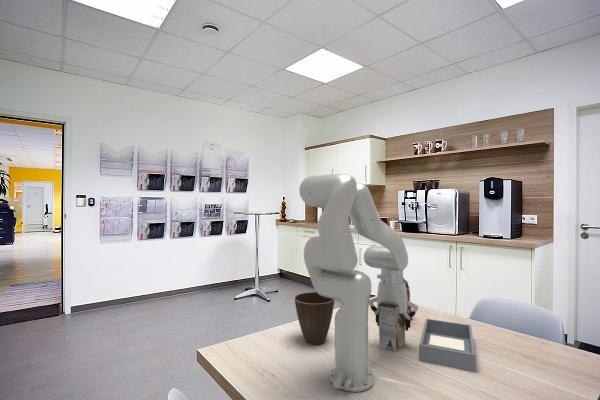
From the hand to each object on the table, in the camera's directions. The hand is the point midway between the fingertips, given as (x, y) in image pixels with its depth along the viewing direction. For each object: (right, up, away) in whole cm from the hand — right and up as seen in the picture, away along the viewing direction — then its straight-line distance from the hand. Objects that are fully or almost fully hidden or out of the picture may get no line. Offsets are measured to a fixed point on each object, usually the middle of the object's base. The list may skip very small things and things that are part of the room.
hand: (392, 327), depth 111 cm
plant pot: (-28, -7, +5) cm, 29 cm away
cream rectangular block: (+14, -6, -10) cm, 19 cm away
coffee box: (0, -7, -1) cm, 7 cm away
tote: (+18, -7, -4) cm, 19 cm away
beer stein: (+10, -8, +28) cm, 31 cm away
